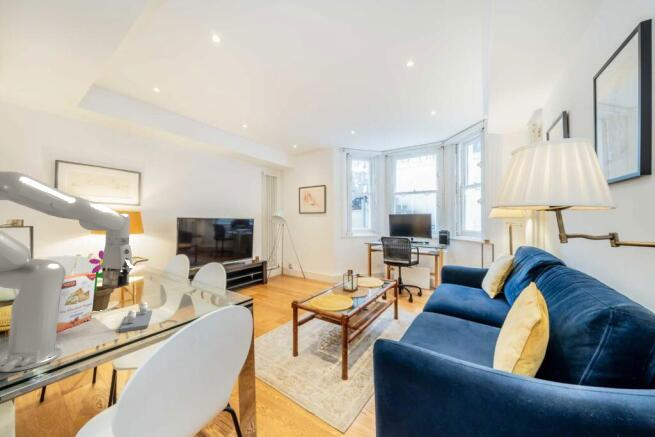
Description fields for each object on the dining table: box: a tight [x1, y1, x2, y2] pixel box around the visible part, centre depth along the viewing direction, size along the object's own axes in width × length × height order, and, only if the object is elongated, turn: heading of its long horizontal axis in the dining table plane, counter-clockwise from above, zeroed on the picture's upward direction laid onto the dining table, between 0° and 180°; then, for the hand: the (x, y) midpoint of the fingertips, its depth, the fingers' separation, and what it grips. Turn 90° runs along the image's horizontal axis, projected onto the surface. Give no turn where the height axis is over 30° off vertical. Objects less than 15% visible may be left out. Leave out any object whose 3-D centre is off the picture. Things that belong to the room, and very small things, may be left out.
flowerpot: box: [88, 250, 115, 312], centre depth 119 cm, size 14×14×30 cm
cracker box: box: [56, 272, 96, 334], centre depth 101 cm, size 14×6×21 cm, turn 179°
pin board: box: [119, 301, 153, 334], centre depth 107 cm, size 20×9×7 cm, turn 32°
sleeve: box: [101, 269, 130, 290], centre depth 101 cm, size 6×6×7 cm
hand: (115, 283), depth 101 cm, fingers closed on sleeve, 6 cm apart
